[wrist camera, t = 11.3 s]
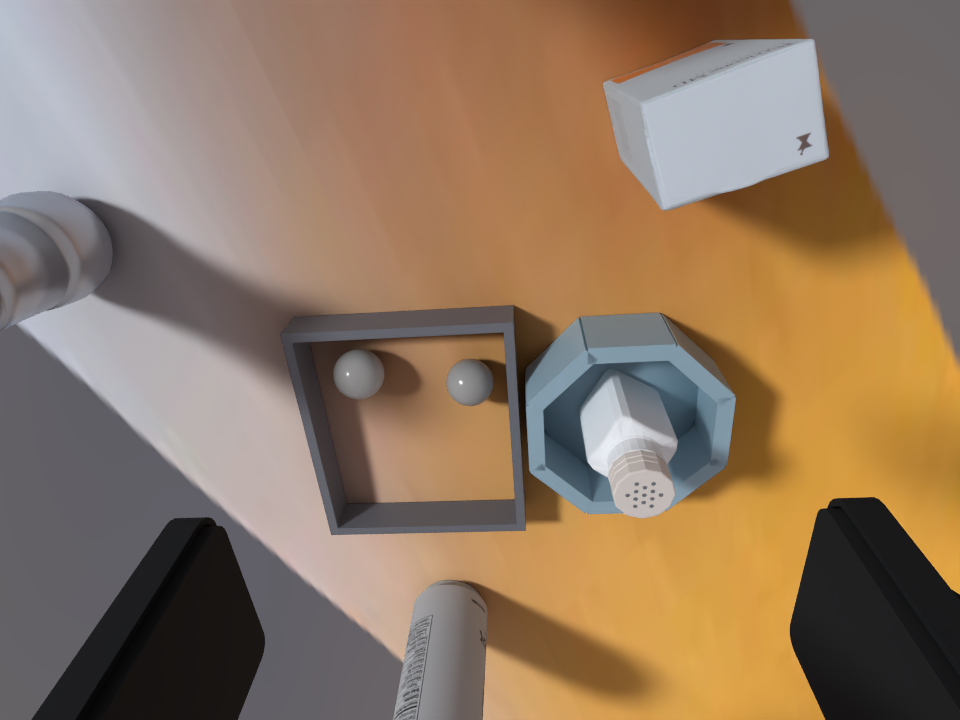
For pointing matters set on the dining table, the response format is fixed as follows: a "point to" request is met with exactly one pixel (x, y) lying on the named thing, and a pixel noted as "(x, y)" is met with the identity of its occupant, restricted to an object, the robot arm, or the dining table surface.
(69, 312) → the dining table surface
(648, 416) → the pepper shaker
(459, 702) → the energy drink can
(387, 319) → the parts tray
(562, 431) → the bowl
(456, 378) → the pebble
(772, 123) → the skincare box
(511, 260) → the dining table surface
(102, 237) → the plastic bottle
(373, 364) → the pebble
